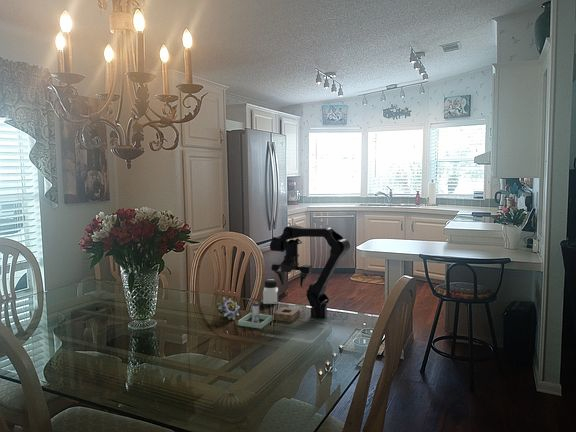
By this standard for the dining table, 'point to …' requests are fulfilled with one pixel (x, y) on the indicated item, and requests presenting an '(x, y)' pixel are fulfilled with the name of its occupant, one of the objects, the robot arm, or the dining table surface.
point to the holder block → (286, 314)
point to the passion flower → (228, 308)
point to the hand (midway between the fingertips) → (292, 286)
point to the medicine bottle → (270, 292)
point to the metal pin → (255, 312)
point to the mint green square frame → (244, 322)
